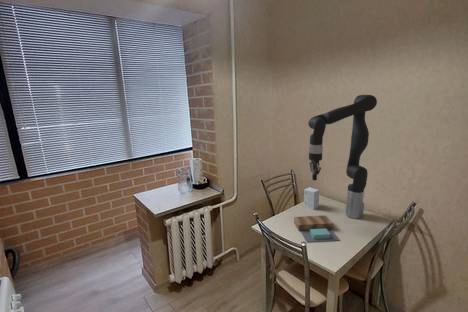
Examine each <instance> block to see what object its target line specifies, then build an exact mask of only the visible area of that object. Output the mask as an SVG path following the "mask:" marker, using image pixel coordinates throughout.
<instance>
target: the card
mask: <svg viewBox="0 0 468 312" xmlns="http://www.w3.org/2000/svg"><path fill="white" fill-rule="evenodd" d="M310 234H311V236H312V237H313V239H326V238H330V233H329V232H328V231H327V229H310Z"/></svg>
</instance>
